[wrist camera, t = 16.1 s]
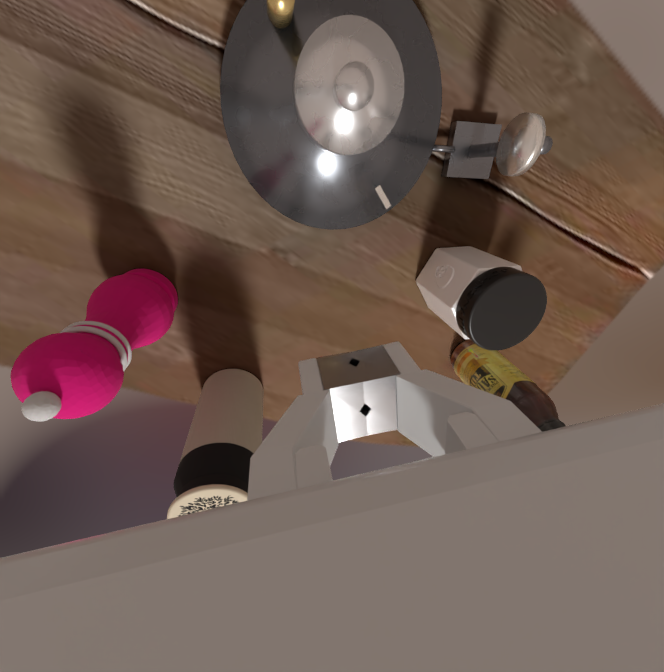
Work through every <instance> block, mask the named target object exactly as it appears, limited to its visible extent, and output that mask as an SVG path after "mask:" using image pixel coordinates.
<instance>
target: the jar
mask: <svg viewBox="0 0 664 672" xmlns="http://www.w3.org/2000/svg"><path fill="white" fill-rule="evenodd" d="M416 283H417V285H418V287H419V289H420V291H421V293H422V295H423V297H424V299H425V301H426V303H427V305H428V307H429V308H430V309H431V310H432V311H433V312H434V313H435V314H437V315H438V316H439V317H440V318H441V319H442V320H443V321H445V322H446V323H447V324H448V325H449V326H450V327H451V328H452V329H454V330H455V331H456V332H457V333H458V334H459V335H460V336H462V337H463V338H464V339H470V340H472V341H473V342H474V343H475V344H476V345H477V346H479V347H481V348H483V349H486V350H503V349H507V348H510V347H512V346H514V345H516V344H518V343H520V342H521V341H523V340H524V339H525V338H527V337H528V336H529V335H530V334H531V333H532V332H533V331H534V330H535V328H536V327H537V326H538V324H539V323H540V321H541V319H542V317H543V315H544V312H545V309H546V304H547V295H546V290H545V288H544V286H543V284H542V283H541V281H540V280H539V279H537V278H536V277H534V276H532V275H530V274H527V273H525V272H523V271H522V269H521V266H520V265H517V264H514V263H512V262H509V261H507V260H504V259H502V258H499V257H497V256H494V255H491V254H489V253H486V252H484V251H481V250H479V249H476V248H474V247H471V246H464V247H449V248H437V249H435V251H434V252H433V254H432V256H431V257H430V259H429V260H428V262H427V263H426V265H425V266H424V268H423V270H422V271H421V273H420V274H419V276H418V277H417V279H416Z"/></svg>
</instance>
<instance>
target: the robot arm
mask: <svg viewBox="0 0 664 672" xmlns="http://www.w3.org/2000/svg"><path fill="white" fill-rule="evenodd" d="M298 365H299V372H300V379H301V386H302V393H303V395H299V396H297V398H296V399H295V400H294V401H293V403H292V404H291V405H290V407H289V408H288V409H287V411H286V412H285V413H284V415H283V416H282V417H281V419H280V420H279V421H278V422H277V424H276V425H275V427H274V428H273V429H272V430H271V432H270V433H269V434H268V436H267V437H266V438H265V440H264V441H263V442H262V443H261V445H260V446H259V447H258V449H257V450H256V451H255V453H254V454H253V455H252V457H251V458H250V471H249V484H248V497H247V501H244V502H239V503H235V504H231V505H226V506H222V507H218V508H214V509H209V510H205V511H201V512H196V513H192V514H188V515H183V516H179V517H175V518H171V519H167V520H162V521H158V522H154V523H149V524H145V525H141V526H136V527H132V528H128V529H123V530H119V531H115V532H111V533H106V534H102V535H98V536H93V537H89V538H85V539H80V540H76V541H72V542H67V543H63V544H59V545H55V546H50V547H46V548H42V549H37V550H33V551H29V552H24V553H20V554H16V555H12V556H8V557H3V558H0V672H664V403H663V404H659V405H655V406H650V407H646V408H642V409H638V410H634V411H630V412H625V413H621V414H616V415H612V416H608V417H604V418H600V419H596V420H591V421H587V422H583V423H579V424H574V425H570V426H565V427H561V428H557V429H552V430H548V431H544V432H542V431H541V430H540V429H539V428H538V427H537V426H536V425H535V424H534V423H533V422H532V421H531V420H529V419H528V418H527V417H526V416H525V415H524V414H523V413H522V412H521V411H520V410H519V409H518V408H517V407H516V406H515V405H514V404H513V403H512V402H511V401H509V400H506V399H504V398H501V397H498V396H496V395H493V394H490V393H488V392H485V391H482V390H480V389H477V388H474V387H472V386H469V385H466V384H464V383H461V382H458V381H456V380H453V379H450V378H448V377H445V376H442V375H440V374H437V373H434V372H432V371H429V370H426V369H425V370H420V368H419V367H418V366H417V364H416V363H415V362H414V360H413V359H412V358H411V357H410V355H409V354H408V353H407V351H406V350H405V349H404V347H403V346H402V345H401V343H400V342H393V343H389V344H385V345H381V346H376V347H372V348H367V349H363V350H358V351H354V352H347V353H341V354H335V355H330V356H324V357H318V358H312V359H307V360H303V361H299V363H298ZM397 429H398V431H399V432H400V433H402V434H403V435H404V436H406V437H407V438H408V439H410V440H411V441H413V442H414V443H415V444H417V445H418V446H419V447H421V448H422V449H424V450H425V451H427V452H428V453H429V454H431V455H432V456H433V457H432V458H428V459H423V460H419V461H415V462H410V463H406V464H402V465H398V466H394V467H389V468H385V469H381V470H376V471H372V472H368V473H364V474H359V475H355V476H351V477H346V478H342V479H338V480H334V481H333V480H332V475H331V470H330V465H331V462H332V460H333V457H334V455H335V452H336V450H337V447H338V445H339V444H338V443H339V442H343V441H347V440H351V439H355V438H359V437H363V436H367V435H372V434H377V433H382V432H387V431H392V430H397Z"/></svg>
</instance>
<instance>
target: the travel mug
mask: <svg viewBox="0 0 664 672" xmlns="http://www.w3.org/2000/svg"><path fill="white" fill-rule="evenodd" d="M262 421H263V387H262V384H261V383H260V381H259V380H258V379H257V378H256V377H255V376H254V375H253V374H251V373H249V372H247V371H244V370H240V369H225V370H221V371H218V372H216V373H214V374H213V375H211V376H210V377H209V378H208V379H207V380H206V382H205V383H204V385H203V388H202V392H201V395H200V398H199V402H198V405H197V408H196V411H195V415H194V418H193V421H192V424H191V428H190V431H189V434H188V438H187V441H186V444H185V448H184V450H183V454H182V457H181V460H180V464H179V467H178V470H177V473H176V477H175V480H174V490H175V493H176V496H177V498H176V499H175V500H174V501H173V502H172V504H171V505H170V507H169V509H168V514H167V519H171V518H175V517H179V516H183V515H188V514H192V513H196V512H201V511H205V510H209V509H214V508H218V507H222V506H226V505H231V504H235V503H239V502H244V501H247V497H248V484H249V471H250V458H251V457H252V455H253V454H254V453H255V451H256V450H257V449H258V447H259V446H260V445H261V443H262V424H263V423H262Z"/></svg>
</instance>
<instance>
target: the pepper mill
mask: <svg viewBox="0 0 664 672" xmlns="http://www.w3.org/2000/svg"><path fill="white" fill-rule="evenodd" d="M177 304H178V295H177V292H176V289H175V287H174V286H173V284H172V283H171V282H170V281H169V280H168V279H167V278H166V277H165V276H163V275H162V274H160V273H158V272H156V271H153V270H150V269H134V270H130V271H128V272H126V273H125V274H123V275H118V276H114V277H111V278H109V279H107V280H105V281H104V282H102V283H101V284H100V285H99V286H98V287H97V288H96V289H95V290H94V292H93V293H92V295H91V297H90V299H89V302H88V305H87V317H86V320H85V321H80V322H76V323H73V324H71V325H69V326H67V327H66V328H65V329H64V330H63V331H61V332H60V333H57V334H51V335H48V336H46V337H43V338H40V339H38V340H36V341H35V342H33V343H32V344H30V345H29V346H28V347H27V348H26V349H25V350H23V351H22V352H21V354H20V355H19V357H18V358H17V359H16V361H15V363H14V365H13V368H12V370H11V383H12V388H13V390H14V392H15V394H16V396H17V397H18V398H19V400H20V401H21V402H22V403H23V404H22V412H23V415H24V416H25V417H26V418H28V419H29V420H32V421H46V420H48V419H51V418H58V419H72V418H79V417H83V416H87V415H90V414H93V413H94V412H96V411H99V410H100V409H102V408H103V407H105V406H106V405H107V404H108V403H109V402H111V400H112V399H113V398H114V397H115V396H116V394H117V393H118V391H119V390H120V388H121V385H122V383H123V376H124V371H125V369H126V368H127V367H128V365H129V363H130V361H131V358H132V350H133V349H134V348H139V347H142V346H146V345H149V344H151V343H153V342H155V341H157V340H158V339H160V338H161V337H162V336H163V335H164V334H165V333H166V332H167V331H168V329H169V328H170V326H171V324H172V321H173V317H174V311H175V310H176V307H177Z"/></svg>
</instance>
